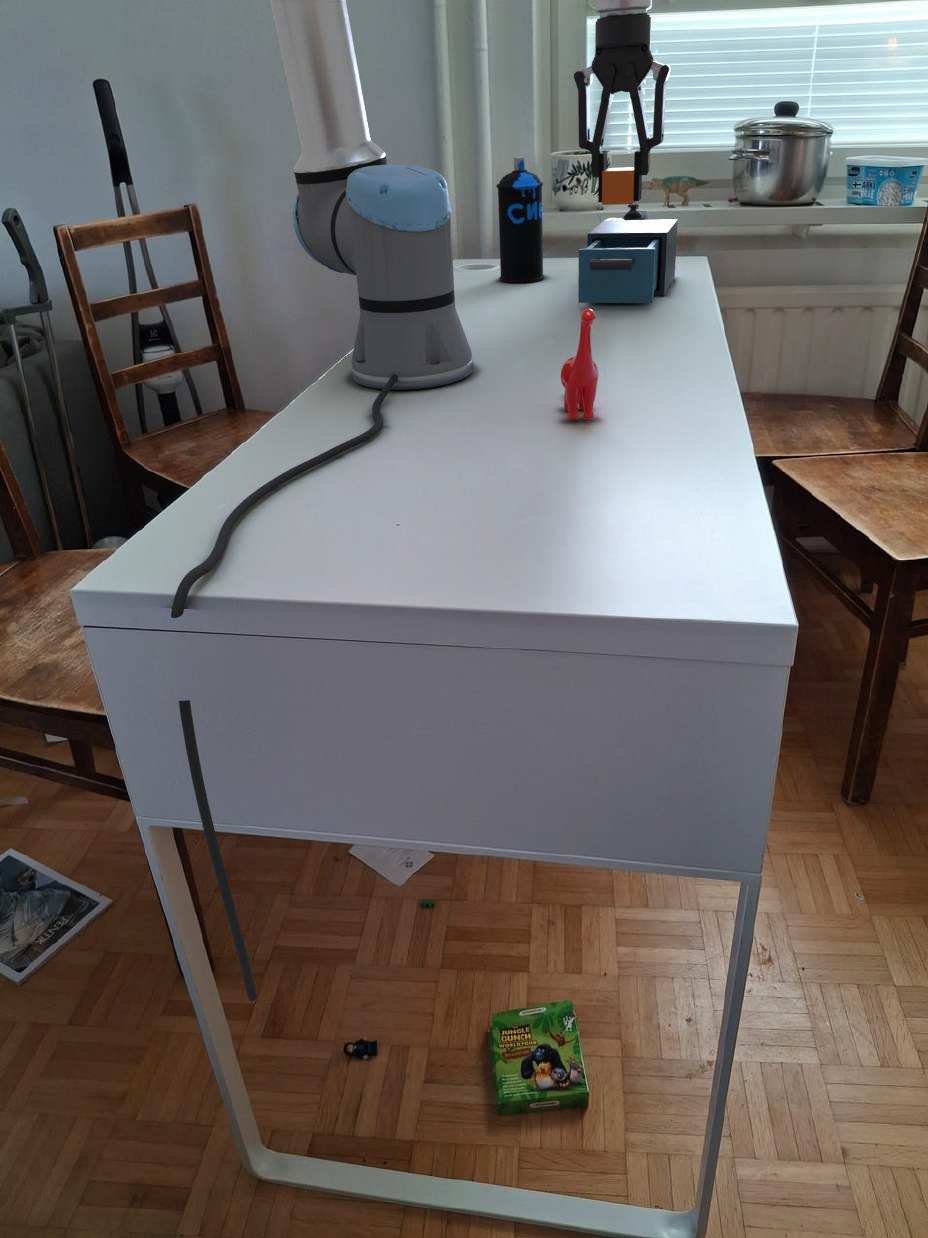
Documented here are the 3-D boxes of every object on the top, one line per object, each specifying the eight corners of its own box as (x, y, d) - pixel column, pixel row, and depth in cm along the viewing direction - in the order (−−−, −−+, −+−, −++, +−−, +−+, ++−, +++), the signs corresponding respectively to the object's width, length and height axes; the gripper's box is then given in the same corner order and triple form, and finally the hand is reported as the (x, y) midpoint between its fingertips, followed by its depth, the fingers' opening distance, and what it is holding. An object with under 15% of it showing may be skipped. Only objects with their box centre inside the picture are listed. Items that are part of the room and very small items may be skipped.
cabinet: (664, 295, 150) (667, 231, 145) (586, 295, 154) (587, 233, 149) (674, 278, 162) (677, 219, 157) (602, 278, 166) (603, 220, 161)
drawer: (647, 310, 138) (650, 254, 134) (571, 309, 141) (571, 254, 137) (663, 285, 153) (665, 234, 149) (594, 285, 156) (595, 235, 152)
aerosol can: (491, 278, 172) (487, 157, 162) (531, 273, 174) (529, 154, 165) (512, 285, 165) (509, 159, 155) (552, 279, 168) (552, 155, 158)
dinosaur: (587, 394, 106) (589, 280, 100) (608, 438, 93) (610, 310, 87) (553, 396, 106) (552, 283, 100) (568, 440, 93) (568, 312, 87)
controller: (618, 262, 179) (620, 206, 174) (626, 252, 189) (628, 198, 184) (641, 262, 178) (643, 205, 173) (647, 251, 188) (650, 197, 183)
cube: (632, 203, 136) (633, 169, 134) (601, 204, 138) (602, 171, 135) (637, 199, 140) (638, 166, 138) (607, 200, 141) (607, 167, 139)
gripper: (692, 9, 127) (682, 195, 139) (566, 20, 133) (567, 199, 144) (685, 7, 121) (676, 201, 133) (554, 18, 127) (556, 205, 138)
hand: (619, 200), depth 139 cm, fingers closed on cube, 4 cm apart
